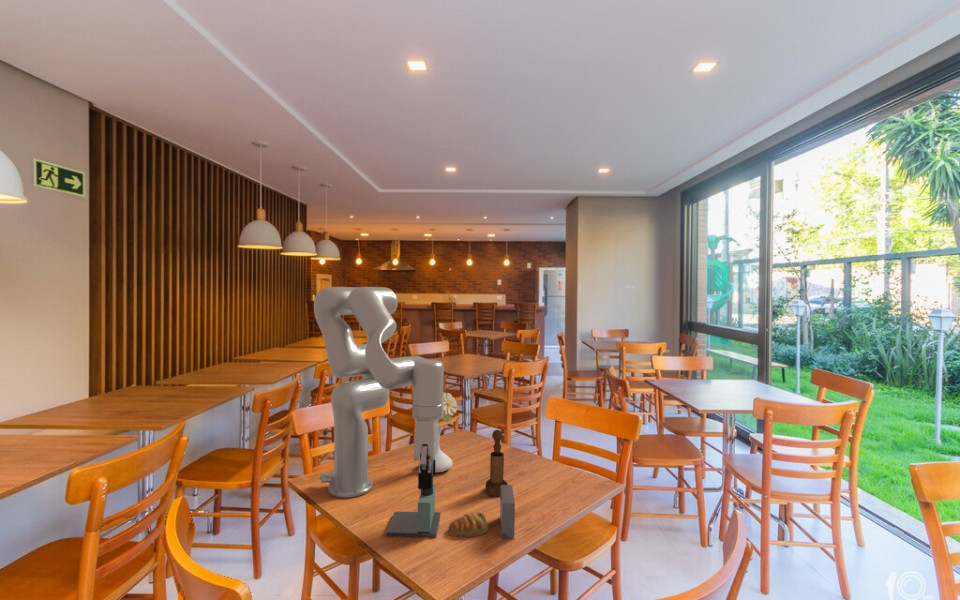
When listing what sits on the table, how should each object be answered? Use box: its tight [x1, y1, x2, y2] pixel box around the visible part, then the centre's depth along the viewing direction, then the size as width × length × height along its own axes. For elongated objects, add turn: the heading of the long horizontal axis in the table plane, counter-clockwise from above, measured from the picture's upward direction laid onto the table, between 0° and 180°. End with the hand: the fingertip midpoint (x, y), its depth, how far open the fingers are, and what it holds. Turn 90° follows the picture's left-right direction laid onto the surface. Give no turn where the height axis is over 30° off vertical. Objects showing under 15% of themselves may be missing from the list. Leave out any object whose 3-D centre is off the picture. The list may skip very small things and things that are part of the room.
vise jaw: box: [417, 457, 436, 532], centre depth 109 cm, size 3×10×16 cm, turn 179°
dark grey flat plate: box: [385, 511, 441, 539], centre depth 109 cm, size 12×10×1 cm
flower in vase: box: [417, 392, 458, 473], centre depth 145 cm, size 13×11×25 cm
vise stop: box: [499, 484, 516, 540], centre depth 109 cm, size 3×10×8 cm, turn 179°
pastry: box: [448, 511, 489, 538], centre depth 107 cm, size 9×7×4 cm
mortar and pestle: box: [484, 429, 509, 497], centre depth 129 cm, size 7×6×18 cm
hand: (427, 481), depth 109 cm, fingers open, 7 cm apart
